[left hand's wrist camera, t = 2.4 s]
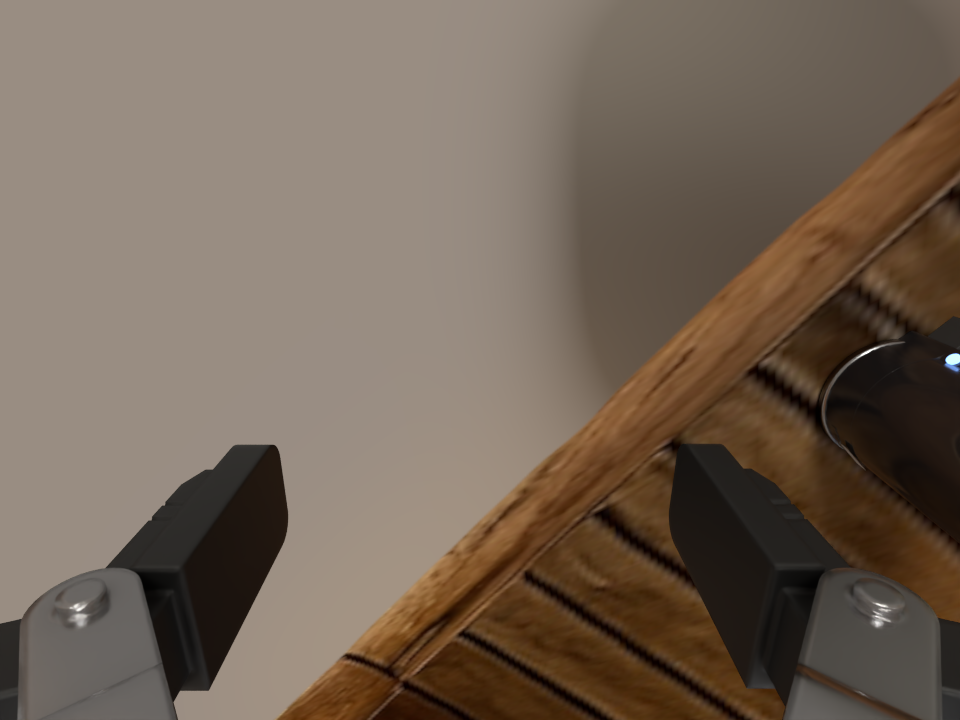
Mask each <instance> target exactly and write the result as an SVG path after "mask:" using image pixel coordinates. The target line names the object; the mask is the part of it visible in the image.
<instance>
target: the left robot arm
mask: <svg viewBox="0 0 960 720" xmlns="http://www.w3.org/2000/svg"><path fill="white" fill-rule="evenodd" d="M818 414H819V420H820V423H821V426H822V428H823V430H824V432H825V433H826V435H827V436H828V437H829V438H830V439H831V440H832V441H833V442H834V443H836V444H837V445H838V446H839V447H841V448H842V449H844V450H845V451H847V452H848V453H849V455H850V456H851V457H852V458H853V459H854V460H855V462H856V463H857V464H858V465H859V466H861V464H860V463H859V462H858V461H857V460H859V461H860V462H861V463H862V464H864V465H865V466H866V467H867V468H868V469H869V470H871V471H872V472H873V473H874V474H876V475H877V476H878V477H879V478H880V479H882V480H883V481H884V482H885V483H887V484H888V485H889V486H890V487H892V488H893V489H894V490H895V491H896V492H898V493H899V494H900V495H901V496H903V497H904V498H905V499H906V500H907V501H909V502H910V503H911V504H912V505H914V506H915V507H916V508H917V509H919V510H920V511H921V512H922V513H923V514H925V515H926V516H927V517H928V518H930V519H931V520H932V521H933V522H934V523H936V524H937V525H938V526H939V527H941V528H942V529H943V530H944V531H945V532H947V533H948V534H949V535H950V536H952V537H953V538H954V539H955V540H957V541H958V542H959V543H960V318H957V317H954V316H953V317H952V318H951V319H949V320H948V321H947V322H945V323H944V324H943V325H942V326H940V327H939V328H938V329H936V330H935V331H934V332H933V333H931V334H930V335H929V336H925V335H923V334H920V333H918V332H915V331H909V332H908V333H907V334H905V335H904V336H903V337H901V338H899V339H892V340H885V341H880V342H876V343H873V344H870V345H868V346H865V347H863V348H861V349H859V350H857V351H856V352H854V353H853V354H851V355H850V356H848V357H847V358H846V359H845V360H843V361H842V362H841V363H840V364H839V365H838V366H837V367H836V368H835V369H834V371H833V372H832V373H831V375H830V376H829V377H828V379H827V381H826V382H825V384H824V387H823V389H822V392H821V394H820V398H819V404H818ZM855 458H856V459H857V460H856V459H855ZM861 467H862V466H861ZM862 468H863V467H862ZM863 469H864V468H863ZM864 470H865V469H864ZM669 525H670V531H671V536H672V539H673V542H674V544H675V546H676V548H677V550H678V552H679V554H680V556H681V558H682V560H683V562H684V564H685V566H686V568H687V570H688V572H689V574H690V576H691V578H692V580H693V582H694V584H695V586H696V588H697V590H698V592H699V594H700V596H701V598H702V600H703V602H704V604H705V606H706V608H707V610H708V612H709V614H710V616H711V618H712V620H713V622H714V624H715V626H716V628H717V630H718V632H719V634H720V636H721V638H722V640H723V642H724V644H725V646H726V648H727V650H728V652H729V654H730V656H731V658H732V660H733V662H734V664H735V666H736V668H737V670H738V672H739V674H740V676H741V678H742V680H743V682H744V684H745V686H746V688H775V689H776V690H777V692H778V694H779V696H780V698H781V699H782V701H783V703H784V705H785V710H784V714H783V718H782V720H960V623H958V622H954V621H949V620H945V619H940V618H937V616H936V614H935V612H934V611H933V610H932V608H931V607H930V606H929V605H928V604H927V603H926V602H925V601H924V600H923V599H922V598H921V597H920V596H918V595H917V594H916V593H914V592H913V591H911V590H910V589H909V588H907V587H905V586H903V585H902V584H900V583H898V582H896V581H894V580H892V579H890V578H888V577H885V576H883V575H880V574H877V573H874V572H871V571H866V570H862V569H856V568H851V567H850V566H849V565H848V564H847V563H846V562H845V561H844V560H843V559H842V557H841V556H840V555H839V554H838V553H837V552H836V551H835V550H834V549H833V547H832V546H831V545H830V544H829V543H828V542H827V541H826V540H825V539H824V537H823V536H822V535H821V534H820V533H819V532H818V531H817V530H816V529H815V527H814V526H813V525H812V524H811V523H810V522H809V521H808V520H807V519H804V515H803V514H802V513H801V512H800V511H799V510H798V509H797V507H796V506H795V505H794V504H791V501H790V500H789V499H788V497H787V496H786V495H785V494H784V493H783V492H782V491H781V490H780V489H779V487H778V486H777V485H776V484H775V483H773V482H772V481H770V480H768V479H767V478H765V477H764V476H762V475H760V474H759V473H757V472H755V471H754V470H752V469H743V468H742V466H741V465H740V464H739V463H738V462H737V460H736V459H735V458H734V457H733V456H732V455H731V453H730V452H729V451H728V450H727V449H726V447H725V446H724V445H722V444H682V445H681V446H680V447H679V450H678V453H677V458H676V466H675V473H674V480H673V487H672V494H671V501H670V508H669ZM287 527H288V509H287V502H286V495H285V488H284V481H283V474H282V467H281V460H280V454H279V451H278V449H277V447H276V446H275V445H235V446H233V447H232V448H231V449H230V450H229V452H228V453H227V454H226V455H225V456H224V457H223V459H222V460H221V461H220V462H219V463H218V464H217V466H216V467H215V468H214V469H213V470H204V471H203V472H201V473H200V474H198V475H196V476H195V477H193V478H191V479H190V480H188V481H186V482H185V483H183V484H182V485H181V486H180V487H179V488H178V489H177V490H176V491H175V492H174V493H173V494H172V495H171V497H170V498H169V499H168V500H167V501H166V504H165V506H161V508H160V509H159V510H158V511H157V512H156V513H155V514H154V515H153V516H152V521H148V522H147V523H146V524H145V525H144V526H143V527H142V528H141V530H140V531H139V532H138V533H137V534H136V535H135V536H134V537H133V538H132V539H131V541H130V542H129V543H128V544H127V545H126V546H125V547H124V548H123V549H122V551H121V552H120V553H119V554H118V555H117V556H116V557H115V558H114V559H113V560H112V562H111V563H110V564H109V565H108V566H107V567H106V568H105V569H98V570H94V571H89V572H86V573H83V574H80V575H77V576H75V577H72V578H70V579H68V580H66V581H64V582H62V583H60V584H58V585H57V586H55V587H53V588H51V589H50V590H49V591H47V592H46V593H44V594H43V595H42V596H40V597H39V598H38V599H37V600H36V601H35V602H34V603H33V604H32V605H31V606H30V607H29V608H28V610H27V611H26V612H25V614H24V616H23V618H22V619H19V620H15V621H11V622H6V623H2V624H0V720H178V718H177V714H176V710H175V707H174V703H173V702H174V700H175V698H176V697H177V695H178V693H179V691H208V690H209V689H210V687H211V685H212V683H213V681H214V679H215V677H216V675H217V673H218V671H219V669H220V667H221V665H222V663H223V662H224V660H225V657H226V656H227V654H228V652H229V650H230V648H231V646H232V644H233V642H234V640H235V638H236V636H237V634H238V632H239V630H240V628H241V626H242V624H243V622H244V620H245V618H246V616H247V614H248V612H249V610H250V608H251V606H252V604H253V602H254V600H255V598H256V596H257V594H258V593H259V591H260V589H261V586H262V585H263V583H264V581H265V579H266V577H267V575H268V573H269V571H270V569H271V567H272V565H273V563H274V561H275V559H276V557H277V555H278V553H279V551H280V549H281V547H282V545H283V543H284V540H285V537H286V533H287Z"/></svg>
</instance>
